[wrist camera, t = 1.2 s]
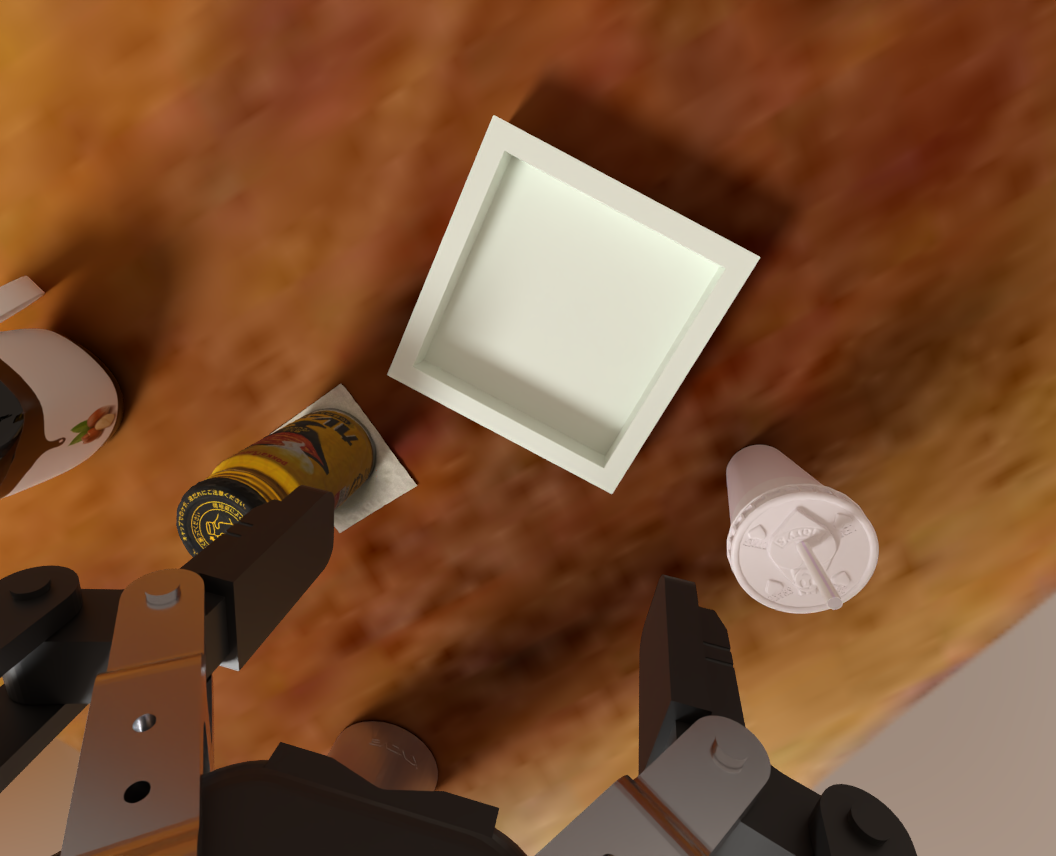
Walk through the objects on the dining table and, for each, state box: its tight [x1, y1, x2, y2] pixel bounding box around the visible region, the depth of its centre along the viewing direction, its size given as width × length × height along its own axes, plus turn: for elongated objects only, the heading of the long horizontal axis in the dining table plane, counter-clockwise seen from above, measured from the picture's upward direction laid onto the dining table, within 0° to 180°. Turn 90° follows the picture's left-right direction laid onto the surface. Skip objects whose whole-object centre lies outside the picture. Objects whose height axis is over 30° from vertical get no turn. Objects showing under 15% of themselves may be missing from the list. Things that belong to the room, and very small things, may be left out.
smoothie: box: [726, 445, 879, 613], centre depth 28 cm, size 6×6×14 cm
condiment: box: [176, 384, 417, 557], centre depth 34 cm, size 7×8×12 cm
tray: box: [387, 115, 760, 494], centre depth 32 cm, size 15×15×3 cm
